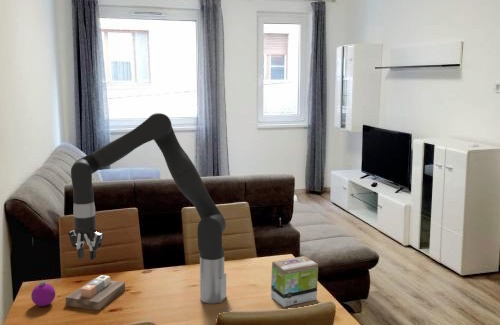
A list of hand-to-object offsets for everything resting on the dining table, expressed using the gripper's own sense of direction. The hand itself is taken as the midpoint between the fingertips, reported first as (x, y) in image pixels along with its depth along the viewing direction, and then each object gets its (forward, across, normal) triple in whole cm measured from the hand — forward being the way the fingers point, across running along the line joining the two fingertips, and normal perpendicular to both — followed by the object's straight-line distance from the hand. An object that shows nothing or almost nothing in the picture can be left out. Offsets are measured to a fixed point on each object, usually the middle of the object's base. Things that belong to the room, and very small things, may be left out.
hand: (87, 258), depth 174 cm
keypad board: (+17, 0, -4) cm, 18 cm away
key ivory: (+14, 0, -9) cm, 17 cm away
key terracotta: (+14, 0, 0) cm, 14 cm away
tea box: (+18, -73, -26) cm, 79 cm away
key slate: (+14, 0, -4) cm, 15 cm away
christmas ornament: (+18, +15, +6) cm, 24 cm away
